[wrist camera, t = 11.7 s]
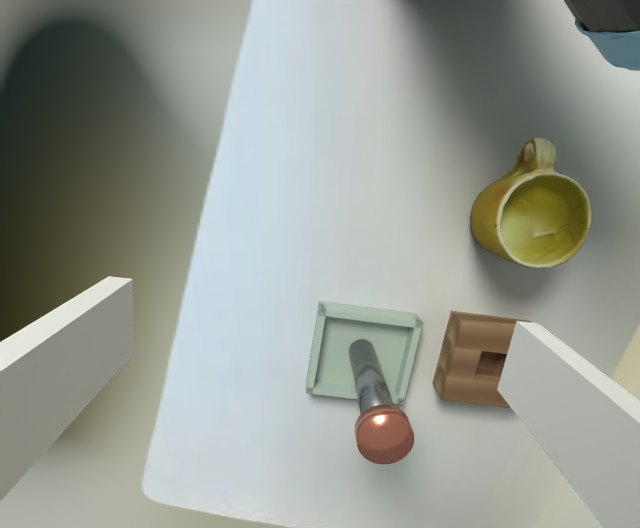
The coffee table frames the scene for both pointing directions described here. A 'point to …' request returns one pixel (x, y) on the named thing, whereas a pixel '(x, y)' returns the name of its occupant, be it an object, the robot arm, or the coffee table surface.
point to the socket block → (473, 358)
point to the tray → (353, 324)
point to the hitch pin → (377, 410)
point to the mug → (533, 211)
